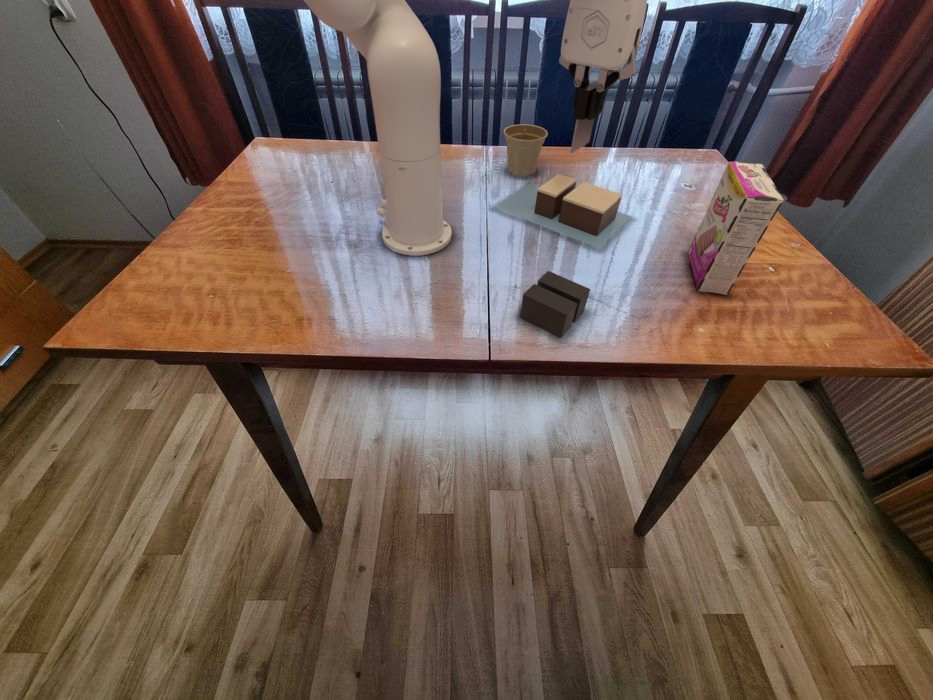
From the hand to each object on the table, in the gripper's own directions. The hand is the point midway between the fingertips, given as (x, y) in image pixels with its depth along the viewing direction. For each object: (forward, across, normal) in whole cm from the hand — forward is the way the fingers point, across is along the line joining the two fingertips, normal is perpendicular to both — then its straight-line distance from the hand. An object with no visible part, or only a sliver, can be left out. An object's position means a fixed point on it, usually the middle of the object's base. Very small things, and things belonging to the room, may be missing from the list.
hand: (586, 115), depth 66 cm
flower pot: (+19, -19, +13) cm, 30 cm away
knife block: (+19, +12, -24) cm, 33 cm away
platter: (+19, -2, +3) cm, 19 cm away
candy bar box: (+19, +26, +1) cm, 33 cm away
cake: (+19, +3, +3) cm, 19 cm away
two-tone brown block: (+19, -4, +3) cm, 19 cm away
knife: (+5, 0, 0) cm, 5 cm away
